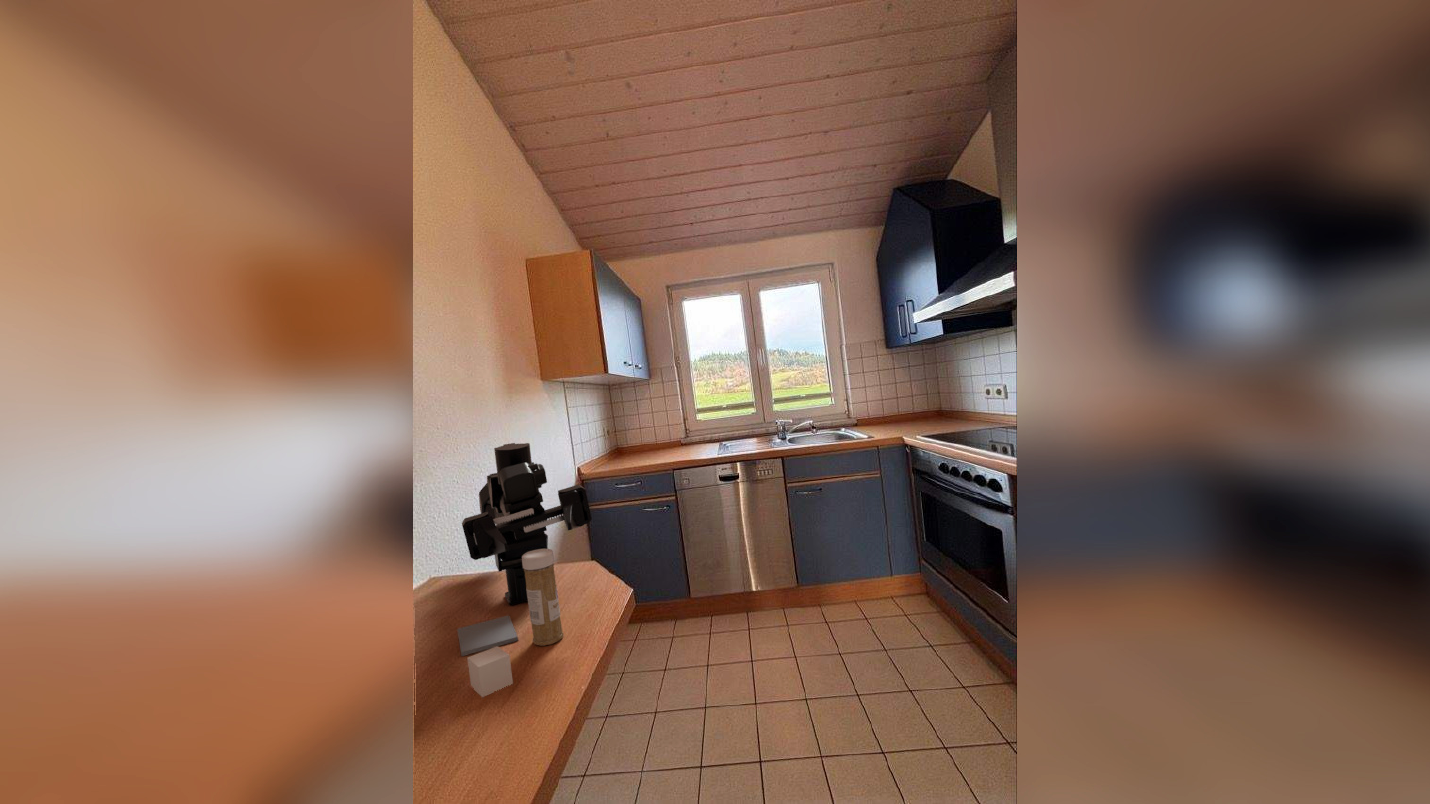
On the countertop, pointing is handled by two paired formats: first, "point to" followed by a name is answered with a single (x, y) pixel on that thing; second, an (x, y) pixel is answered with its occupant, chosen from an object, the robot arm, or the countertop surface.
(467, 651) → the grey mat
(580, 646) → the countertop surface
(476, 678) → the light grey block
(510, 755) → the countertop surface
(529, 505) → the robot arm
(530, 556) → the sprinkles bottle
